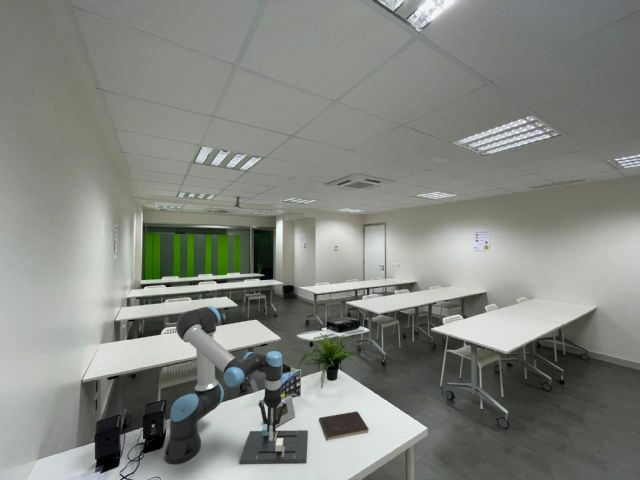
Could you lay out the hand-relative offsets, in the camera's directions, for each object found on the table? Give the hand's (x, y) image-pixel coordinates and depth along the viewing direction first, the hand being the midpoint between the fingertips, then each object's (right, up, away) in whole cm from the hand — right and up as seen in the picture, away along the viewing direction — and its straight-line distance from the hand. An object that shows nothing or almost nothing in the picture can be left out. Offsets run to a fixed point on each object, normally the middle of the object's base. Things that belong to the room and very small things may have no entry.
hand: (271, 438), depth 116 cm
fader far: (-4, -6, +9) cm, 12 cm away
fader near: (+4, -6, -1) cm, 7 cm away
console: (+2, -8, +4) cm, 9 cm away
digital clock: (+1, -10, +24) cm, 26 cm away
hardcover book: (+35, -10, +20) cm, 42 cm away
